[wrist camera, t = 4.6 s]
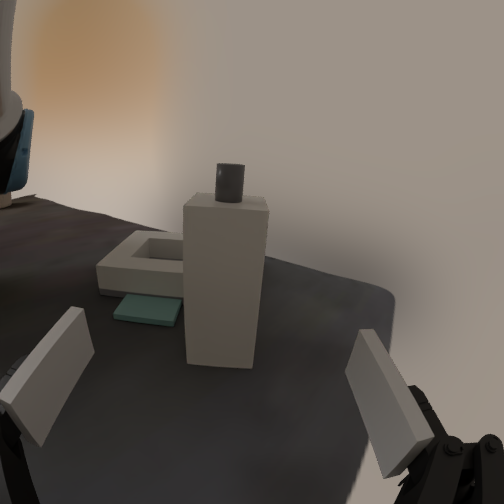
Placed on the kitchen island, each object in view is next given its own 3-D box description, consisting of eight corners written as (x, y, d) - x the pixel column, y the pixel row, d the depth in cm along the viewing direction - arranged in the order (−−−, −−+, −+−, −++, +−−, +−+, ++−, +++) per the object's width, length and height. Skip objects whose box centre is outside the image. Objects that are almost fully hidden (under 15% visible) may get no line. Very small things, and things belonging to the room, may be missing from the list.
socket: (211, 330, 25) (212, 296, 24) (83, 313, 24) (77, 282, 23) (224, 259, 41) (225, 235, 40) (137, 253, 40) (136, 230, 39)
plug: (252, 368, 21) (273, 170, 16) (186, 363, 21) (185, 164, 16) (250, 331, 26) (266, 165, 21) (195, 327, 25) (198, 161, 20)
